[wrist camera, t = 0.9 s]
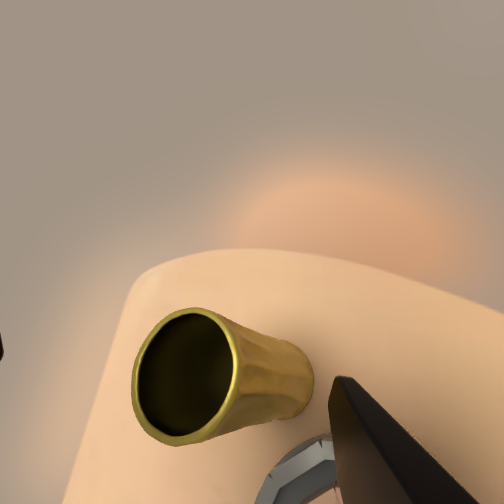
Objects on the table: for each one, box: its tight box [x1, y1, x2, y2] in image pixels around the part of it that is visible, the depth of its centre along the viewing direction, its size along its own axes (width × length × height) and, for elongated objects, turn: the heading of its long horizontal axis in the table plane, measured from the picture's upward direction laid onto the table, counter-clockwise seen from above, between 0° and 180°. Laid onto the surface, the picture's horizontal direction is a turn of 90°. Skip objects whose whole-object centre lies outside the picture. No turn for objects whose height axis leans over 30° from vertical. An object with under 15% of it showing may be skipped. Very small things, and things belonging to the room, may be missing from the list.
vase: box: [131, 308, 313, 447], centre depth 17 cm, size 6×6×14 cm
